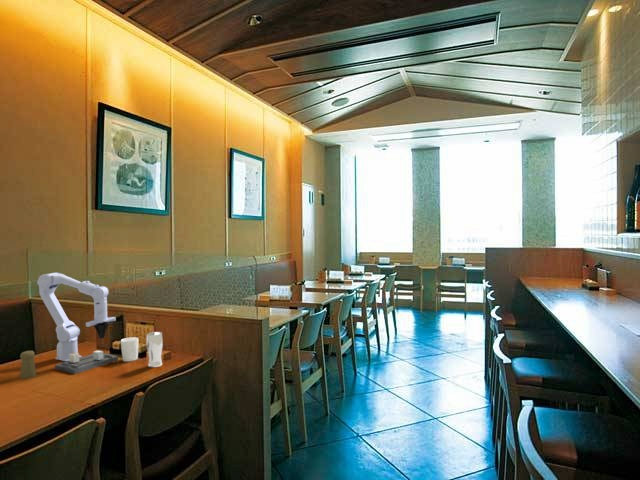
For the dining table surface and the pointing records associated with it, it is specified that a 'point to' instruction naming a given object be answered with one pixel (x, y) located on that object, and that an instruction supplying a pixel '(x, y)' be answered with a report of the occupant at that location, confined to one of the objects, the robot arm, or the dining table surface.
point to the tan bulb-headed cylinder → (27, 365)
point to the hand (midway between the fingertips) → (101, 337)
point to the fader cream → (73, 357)
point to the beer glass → (154, 348)
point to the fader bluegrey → (98, 355)
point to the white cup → (129, 348)
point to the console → (85, 363)
